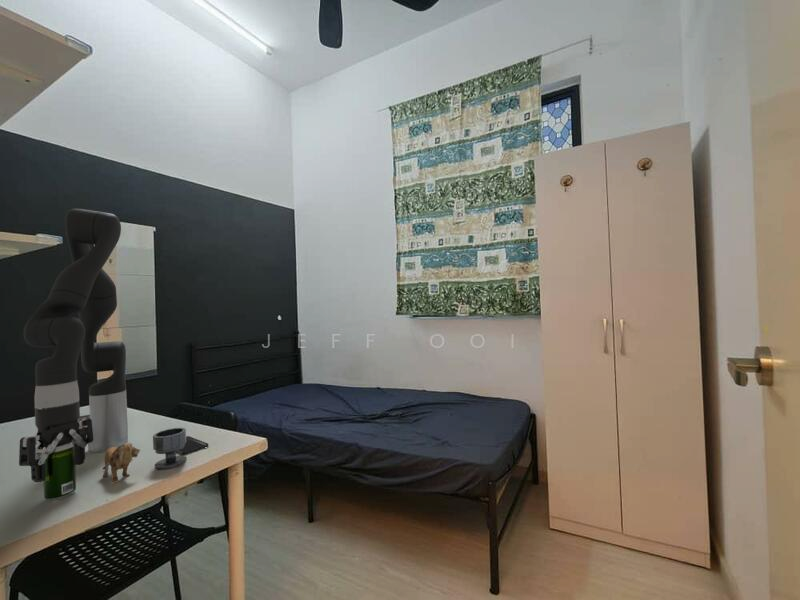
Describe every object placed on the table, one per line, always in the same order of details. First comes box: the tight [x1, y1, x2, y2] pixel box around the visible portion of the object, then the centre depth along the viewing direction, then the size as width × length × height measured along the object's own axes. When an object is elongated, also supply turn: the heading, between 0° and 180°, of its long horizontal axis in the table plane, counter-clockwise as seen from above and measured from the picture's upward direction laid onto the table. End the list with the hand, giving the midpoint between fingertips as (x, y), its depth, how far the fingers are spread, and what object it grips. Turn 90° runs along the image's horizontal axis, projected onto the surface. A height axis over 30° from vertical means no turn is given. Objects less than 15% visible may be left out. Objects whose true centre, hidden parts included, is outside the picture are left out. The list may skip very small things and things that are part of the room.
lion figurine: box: [102, 442, 141, 483], centre depth 93 cm, size 15×5×9 cm, turn 62°
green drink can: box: [43, 440, 77, 502], centre depth 83 cm, size 5×5×12 cm
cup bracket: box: [152, 427, 187, 471], centre depth 99 cm, size 7×7×8 cm
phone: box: [176, 435, 209, 456], centre depth 111 cm, size 8×1×15 cm
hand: (60, 472), depth 83 cm, fingers open, 8 cm apart
